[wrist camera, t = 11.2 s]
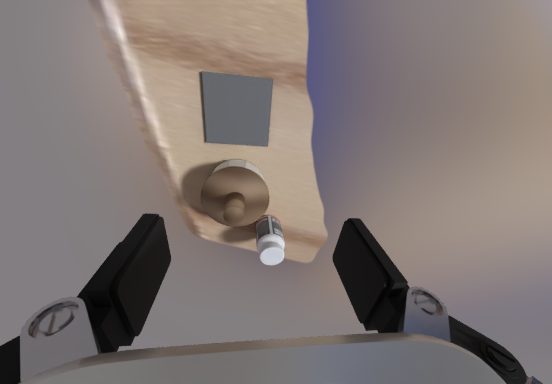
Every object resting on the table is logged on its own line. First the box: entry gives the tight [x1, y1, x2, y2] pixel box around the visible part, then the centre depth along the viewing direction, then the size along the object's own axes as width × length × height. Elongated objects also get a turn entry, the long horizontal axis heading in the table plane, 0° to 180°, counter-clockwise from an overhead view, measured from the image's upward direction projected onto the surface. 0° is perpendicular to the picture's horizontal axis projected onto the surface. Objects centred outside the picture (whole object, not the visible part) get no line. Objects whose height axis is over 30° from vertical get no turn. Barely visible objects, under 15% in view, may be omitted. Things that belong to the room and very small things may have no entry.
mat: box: [202, 71, 273, 146], centre depth 35 cm, size 11×11×1 cm
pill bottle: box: [256, 215, 285, 265], centre depth 43 cm, size 6×6×10 cm
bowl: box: [212, 159, 266, 183], centre depth 40 cm, size 11×11×5 cm
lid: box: [201, 166, 269, 227], centre depth 35 cm, size 12×12×6 cm
